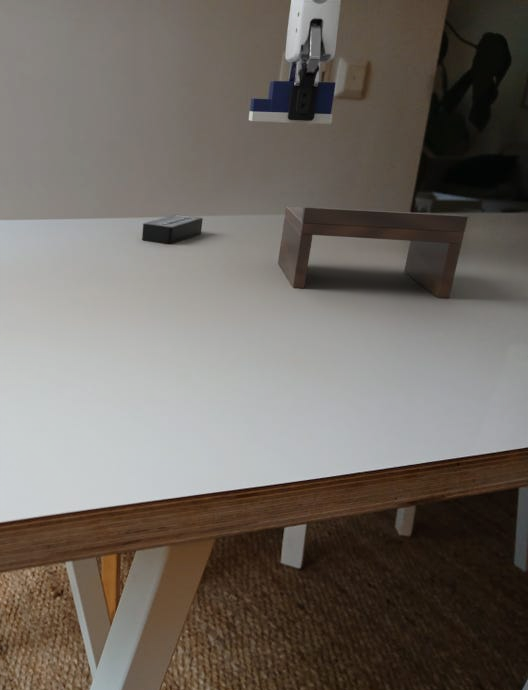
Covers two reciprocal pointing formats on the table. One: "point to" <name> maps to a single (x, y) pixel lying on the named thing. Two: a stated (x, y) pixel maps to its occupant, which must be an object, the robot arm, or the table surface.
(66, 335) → the table surface
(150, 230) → the multiport hub
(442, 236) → the shelf
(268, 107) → the trainer
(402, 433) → the table surface
